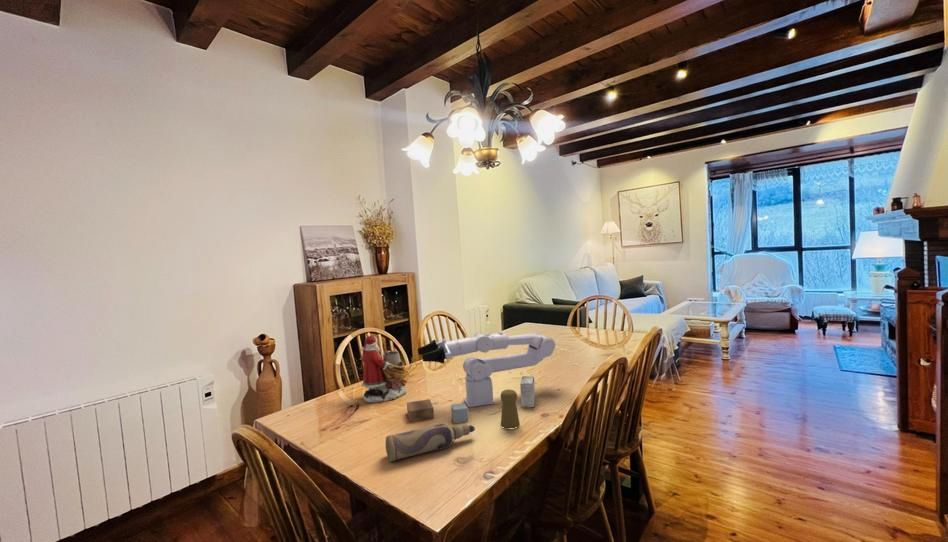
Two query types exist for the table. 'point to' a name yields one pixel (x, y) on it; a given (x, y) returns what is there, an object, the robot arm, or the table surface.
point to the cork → (509, 409)
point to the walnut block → (420, 410)
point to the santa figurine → (381, 373)
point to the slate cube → (459, 413)
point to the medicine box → (527, 391)
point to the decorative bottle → (424, 440)
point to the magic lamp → (407, 371)
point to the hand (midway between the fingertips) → (420, 354)
